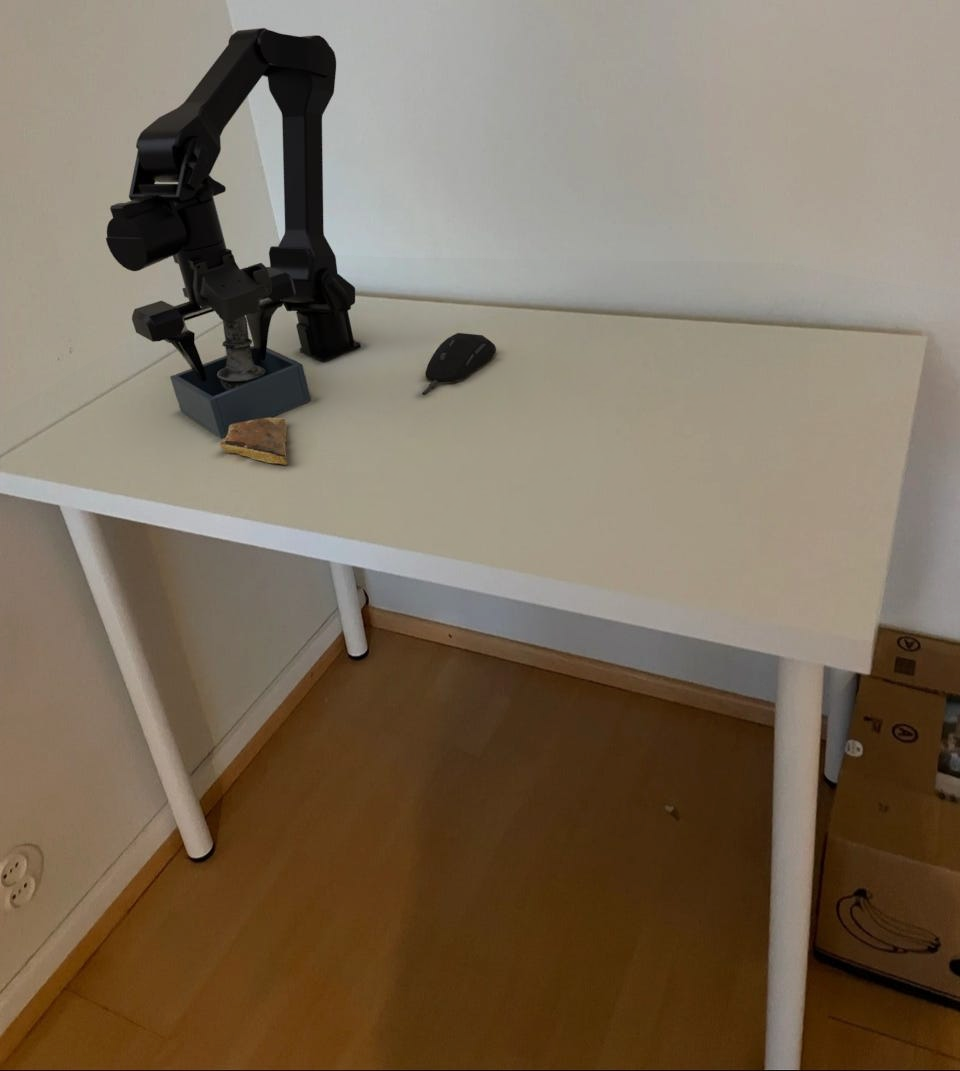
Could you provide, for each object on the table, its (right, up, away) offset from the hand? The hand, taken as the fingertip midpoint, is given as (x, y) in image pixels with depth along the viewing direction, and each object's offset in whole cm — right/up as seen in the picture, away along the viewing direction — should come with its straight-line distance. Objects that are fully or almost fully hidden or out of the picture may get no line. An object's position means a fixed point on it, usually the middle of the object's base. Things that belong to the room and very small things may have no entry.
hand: (233, 369), depth 118 cm
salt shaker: (+1, -3, +3) cm, 5 cm away
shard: (+6, -10, -7) cm, 14 cm away
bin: (+1, -4, +3) cm, 5 cm away
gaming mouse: (+27, 0, +4) cm, 28 cm away
